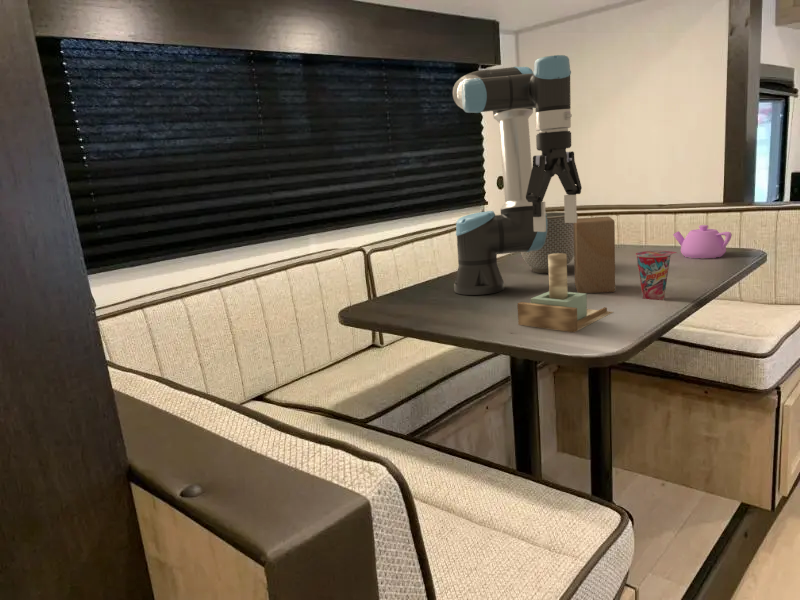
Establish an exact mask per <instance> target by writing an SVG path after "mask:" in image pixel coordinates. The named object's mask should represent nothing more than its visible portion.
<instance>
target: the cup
mask: <svg viewBox="0 0 800 600" xmlns="http://www.w3.org/2000/svg"><path fill="white" fill-rule="evenodd" d="M673 254H678V252H676V251H669V250H668V251H667V250H647V251H639V252H636V253H635V256H636V260H637V267H638V274H639V281H640V289H641V290H640V291H641V296H642V297H641V298H642V299H643V300H652V301H664V300H665V297H666V288H667V282H668V274H669V269H670V261H671V256H672V255H673Z"/></svg>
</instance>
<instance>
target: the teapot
mask: <svg viewBox="0 0 800 600" xmlns="http://www.w3.org/2000/svg"><path fill="white" fill-rule="evenodd" d="M672 236H674V238H675V240H676V241H677V242H678V244H679V245H680V253H681V254H682V256H683V257H684V256H685V258H686V257H691V258H713V259H717V258H716V257H719V258H721V257H723V256H724V255H725V253H726V252H727V246H728V244H729V242H730V241H731V239H732V233H731V231H723V232H719V230H717V229H714V228H709V225H708V224H707V225H706V224H701V225H699V226H698V229H697V228H696V229H691V230H690V231H689V232H688V233H687V234H686V236H685V237H684V236H683V235H682V234H681V232H680V231H679V230H678V231H676V232H675V233H673V234H672ZM723 236H725V239H724V238H723ZM691 258H690V259H691Z"/></svg>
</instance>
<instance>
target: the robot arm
mask: <svg viewBox="0 0 800 600" xmlns="http://www.w3.org/2000/svg"><path fill="white" fill-rule="evenodd" d="M570 63H571V61H570V58H569V57H568V56H567V55H564V54H560V55H559V54H557V55H549V56H543V57H538V58H537V59H535V61H534V66H533V70H532V68H531V67H528V66H513V67H512V66H511V67H503V68H493V69H481V70H476V71H472V72H469V73H467V74H465V75H463V76H460V77H459V79H458V80H456V82H455V83H454V86H453V87H452V98H453V101H454V103H455V104H456V106H457V107H458V108H460V109H462V110H463V111H464V112H465V113H468V114H471V113H472V114H473V113H474V114H479V113H484V112H485V113H487V112H492V116H493V119H494V120H495V121H497V123H498V124H499V125H498V126H499V138H500V139H499V141H500V152H501V153H500V154H501V163H502V164H501V166H502V179H503V180H502V181H503V192H504V193H503V195H504V204H503V205H502V206H501V208H500V214H498V215H496V214H495V212H494V211H493V210H487V211H480V212H475V213H471V214H466V215H464V216H462V217H461V216H460V218H458V219H457V220H456V224H455V229H456V230H455V236H456V244H457V262H458V263H457V264H458V266H457V271H456V276H455V279H454V281H455V282H454V283H453V288H454V290H453V291H454V293H456V294H458V295H465V296H467V295H468V296H480V295H481V296H482V295H489V294H495V293H499V292H501V291H504V289H505V282H504V279H503V276H502V273H501V271H500V267H499V266H498V259H497V258H498V257H497V255H504V254H506V255H507V254H516V253H517V254H518V253H521V252H529V251H536V250H540V249H541V248H542V247H543V246H544V243H545V240H546V236H547V215H546V212H547V211H546V201H544V198H545V196H546V193H547V190H548V187H549V185H550V183H551V180H552V178H553V177H554V176H555V175H556V176H557V177H558V180H559V181H560V183H561V185H562V187H563V189H564V191H565V193H566V194H564V195H563V196H564V198H563V202H564V206H563V207H564V209H563V211H564V213H565V223H577V217H578V212H577V195H580V194H581V193H582V183H581V179H580V176H579V173H578V172H579V171H578V169H577V164H576V160H575V152H574V151H567V149H570V148H571V147H572V132H571V130H569V129H570V128H571V126H572V122H571V121H572V119H571V118H572V113H571V109H572V108H571V99H572V98H571V74H572V70H571V65H570ZM534 109H535V131H536V132H538V133H536V135H535V139H536V140H535V141H536V142H535V143H536V144H535V145H536V150H537V151H541V154H538V155H533V157H532V153H531V151H532V150H531V138H530V137H531V136H530V122H529V119H530V117H531V116H533V114H534Z"/></svg>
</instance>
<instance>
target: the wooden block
mask: <svg viewBox="0 0 800 600" xmlns="http://www.w3.org/2000/svg"><path fill="white" fill-rule="evenodd" d="M615 226H616V225H615V220H614V219H613V218H612V217H610V216H596V217H594V216H593V217H582V218H581V217H580V218H578V219H577V223H573V228H574V257H573V260H574V261H573V262H574V263H573V265H574V286H575V287H574V288H575V289H576V293H586V294H600V293H614V292H615V291H616V264H615V263H616V249H615V248H616V247H615V246H616V239H615V232H616V231H615V230H616V229H615Z"/></svg>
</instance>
